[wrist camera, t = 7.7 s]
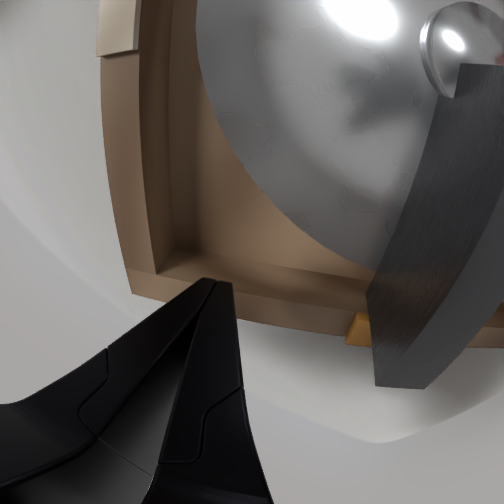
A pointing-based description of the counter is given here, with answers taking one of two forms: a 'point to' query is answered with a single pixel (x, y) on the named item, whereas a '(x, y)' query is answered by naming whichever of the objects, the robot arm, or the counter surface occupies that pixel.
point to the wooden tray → (209, 190)
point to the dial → (377, 151)
